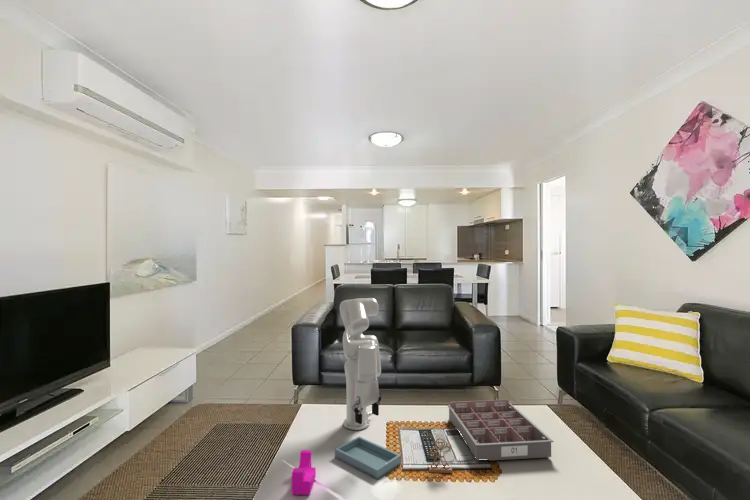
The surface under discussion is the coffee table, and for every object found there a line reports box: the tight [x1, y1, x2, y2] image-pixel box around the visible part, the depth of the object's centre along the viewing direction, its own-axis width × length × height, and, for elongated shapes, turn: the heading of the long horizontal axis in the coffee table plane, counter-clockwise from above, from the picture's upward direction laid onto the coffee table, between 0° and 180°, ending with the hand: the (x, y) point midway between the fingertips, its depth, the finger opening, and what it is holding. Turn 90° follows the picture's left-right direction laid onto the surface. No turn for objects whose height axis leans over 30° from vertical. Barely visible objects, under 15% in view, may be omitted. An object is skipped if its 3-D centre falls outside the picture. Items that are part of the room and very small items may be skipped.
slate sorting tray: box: [334, 436, 402, 481], centre depth 153 cm, size 14×23×4 cm, turn 48°
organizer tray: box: [446, 399, 554, 461], centre depth 171 cm, size 32×40×10 cm
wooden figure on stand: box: [428, 437, 454, 474], centre depth 147 cm, size 9×4×12 cm, turn 86°
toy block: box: [291, 449, 317, 496], centre depth 140 cm, size 15×6×8 cm, turn 178°
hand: (367, 418), depth 154 cm, fingers open, 9 cm apart
